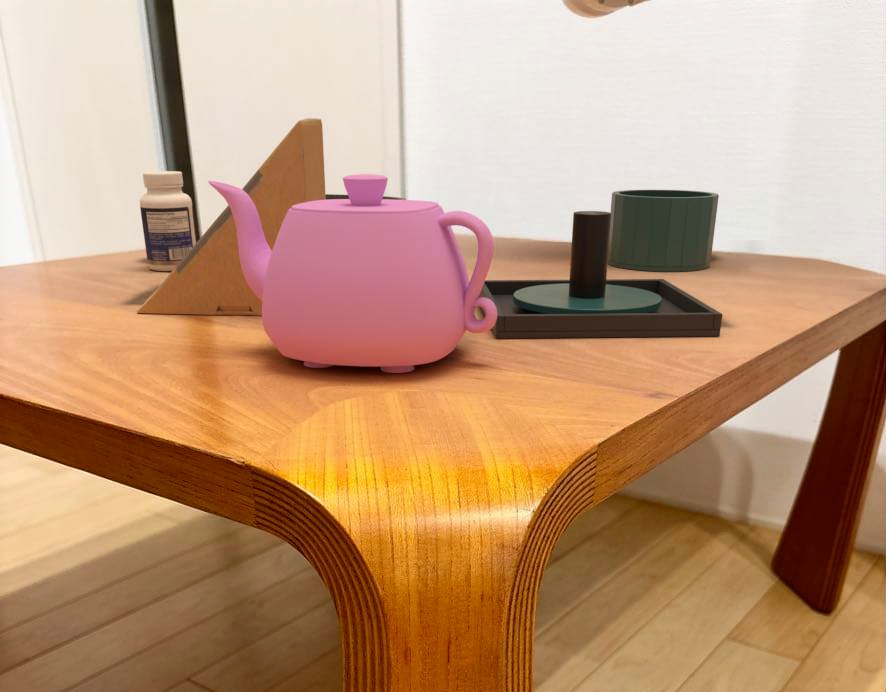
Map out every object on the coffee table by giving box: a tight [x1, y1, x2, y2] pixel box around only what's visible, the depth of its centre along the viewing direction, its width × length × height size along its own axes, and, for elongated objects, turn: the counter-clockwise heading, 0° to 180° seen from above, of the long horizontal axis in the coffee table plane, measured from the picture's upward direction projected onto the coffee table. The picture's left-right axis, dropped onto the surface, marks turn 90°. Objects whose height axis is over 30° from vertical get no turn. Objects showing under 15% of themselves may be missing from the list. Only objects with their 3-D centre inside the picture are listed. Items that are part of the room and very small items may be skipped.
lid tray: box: [478, 278, 723, 339], centre depth 76 cm, size 17×16×2 cm
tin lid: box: [513, 210, 662, 314], centre depth 75 cm, size 12×12×8 cm
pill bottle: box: [139, 170, 198, 272], centre depth 98 cm, size 5×5×10 cm
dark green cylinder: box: [607, 189, 720, 273], centre depth 102 cm, size 11×11×8 cm
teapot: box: [207, 173, 497, 374], centre depth 61 cm, size 20×13×12 cm, turn 76°
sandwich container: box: [136, 117, 326, 316], centre depth 77 cm, size 9×15×15 cm, turn 86°
